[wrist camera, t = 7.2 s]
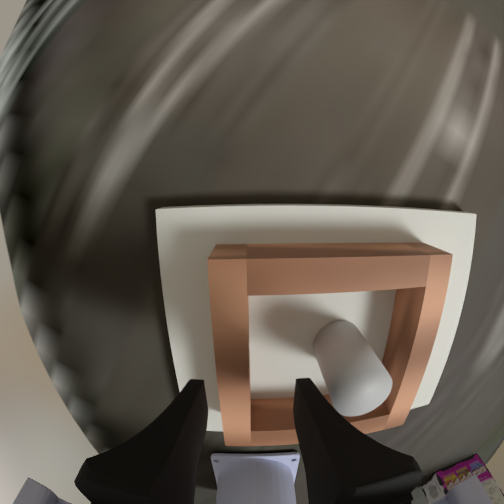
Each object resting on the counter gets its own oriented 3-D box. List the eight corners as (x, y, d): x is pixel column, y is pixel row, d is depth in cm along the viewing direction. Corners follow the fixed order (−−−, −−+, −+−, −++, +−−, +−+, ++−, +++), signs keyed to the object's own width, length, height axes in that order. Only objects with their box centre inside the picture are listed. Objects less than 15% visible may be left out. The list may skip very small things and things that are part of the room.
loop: (388, 398, 17) (403, 424, 14) (228, 414, 17) (225, 445, 14) (423, 242, 14) (453, 254, 11) (216, 244, 14) (207, 259, 11)
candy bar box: (419, 487, 25) (448, 555, 9) (434, 471, 24) (469, 543, 8) (463, 469, 25) (495, 524, 9) (478, 452, 24) (514, 509, 8)
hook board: (421, 393, 19) (454, 440, 13) (191, 416, 19) (177, 479, 13) (463, 211, 15) (529, 226, 9) (163, 206, 15) (111, 221, 9)
